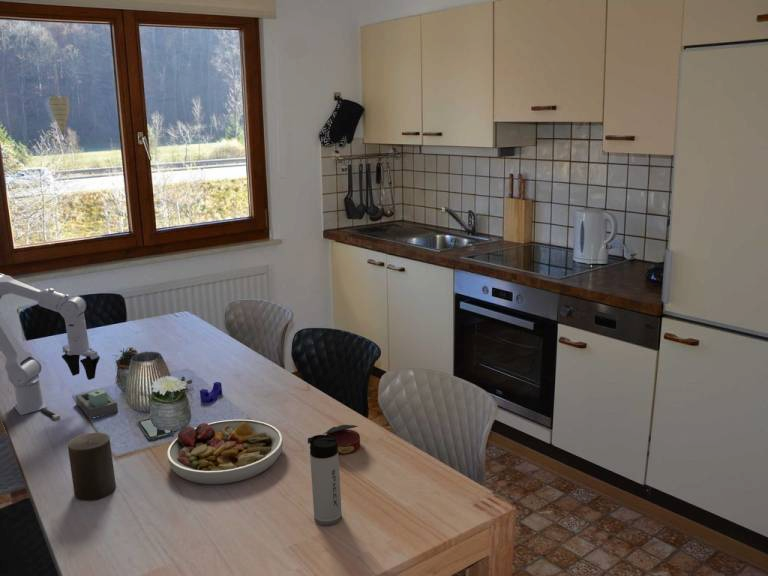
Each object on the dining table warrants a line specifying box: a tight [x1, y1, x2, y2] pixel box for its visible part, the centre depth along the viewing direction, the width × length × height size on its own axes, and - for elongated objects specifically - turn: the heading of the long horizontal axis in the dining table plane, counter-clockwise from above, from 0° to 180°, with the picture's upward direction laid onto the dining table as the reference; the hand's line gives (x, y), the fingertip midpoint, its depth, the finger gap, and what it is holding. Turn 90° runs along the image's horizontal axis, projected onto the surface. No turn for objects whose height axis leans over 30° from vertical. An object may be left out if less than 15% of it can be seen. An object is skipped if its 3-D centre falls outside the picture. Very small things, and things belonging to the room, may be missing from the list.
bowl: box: [166, 419, 284, 485], centre depth 192 cm, size 30×30×8 cm
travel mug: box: [307, 434, 343, 527], centre depth 162 cm, size 6×7×20 cm
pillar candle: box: [67, 432, 117, 502], centre depth 178 cm, size 10×10×15 cm
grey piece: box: [75, 388, 119, 419], centre depth 228 cm, size 15×8×3 cm, turn 39°
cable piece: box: [40, 408, 61, 421], centre depth 224 cm, size 10×1×1 cm, turn 49°
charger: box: [88, 388, 108, 408], centre depth 225 cm, size 4×4×5 cm
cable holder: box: [199, 381, 223, 404], centre depth 233 cm, size 8×4×4 cm, turn 152°
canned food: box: [323, 424, 361, 456], centre depth 197 cm, size 11×10×10 cm
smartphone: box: [137, 417, 175, 442], centre depth 213 cm, size 7×1×15 cm
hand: (83, 376), depth 227 cm, fingers open, 7 cm apart
